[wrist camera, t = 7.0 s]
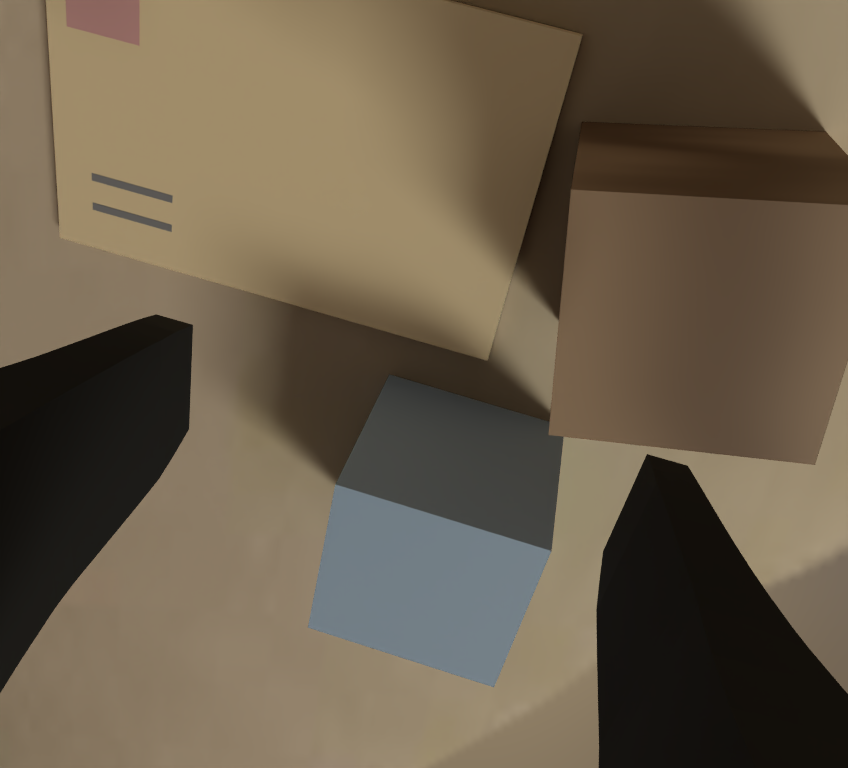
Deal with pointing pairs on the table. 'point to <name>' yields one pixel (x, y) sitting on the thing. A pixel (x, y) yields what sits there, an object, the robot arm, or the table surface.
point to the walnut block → (704, 290)
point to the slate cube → (439, 530)
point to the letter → (311, 149)
